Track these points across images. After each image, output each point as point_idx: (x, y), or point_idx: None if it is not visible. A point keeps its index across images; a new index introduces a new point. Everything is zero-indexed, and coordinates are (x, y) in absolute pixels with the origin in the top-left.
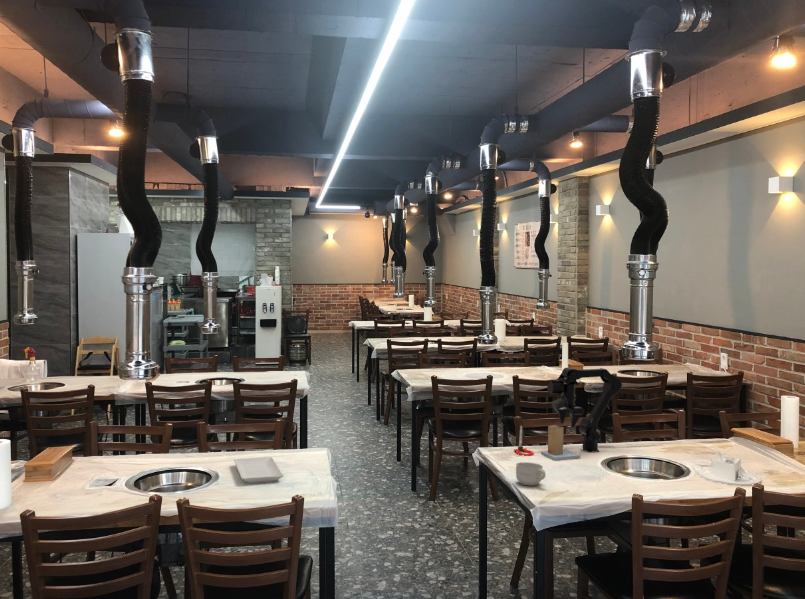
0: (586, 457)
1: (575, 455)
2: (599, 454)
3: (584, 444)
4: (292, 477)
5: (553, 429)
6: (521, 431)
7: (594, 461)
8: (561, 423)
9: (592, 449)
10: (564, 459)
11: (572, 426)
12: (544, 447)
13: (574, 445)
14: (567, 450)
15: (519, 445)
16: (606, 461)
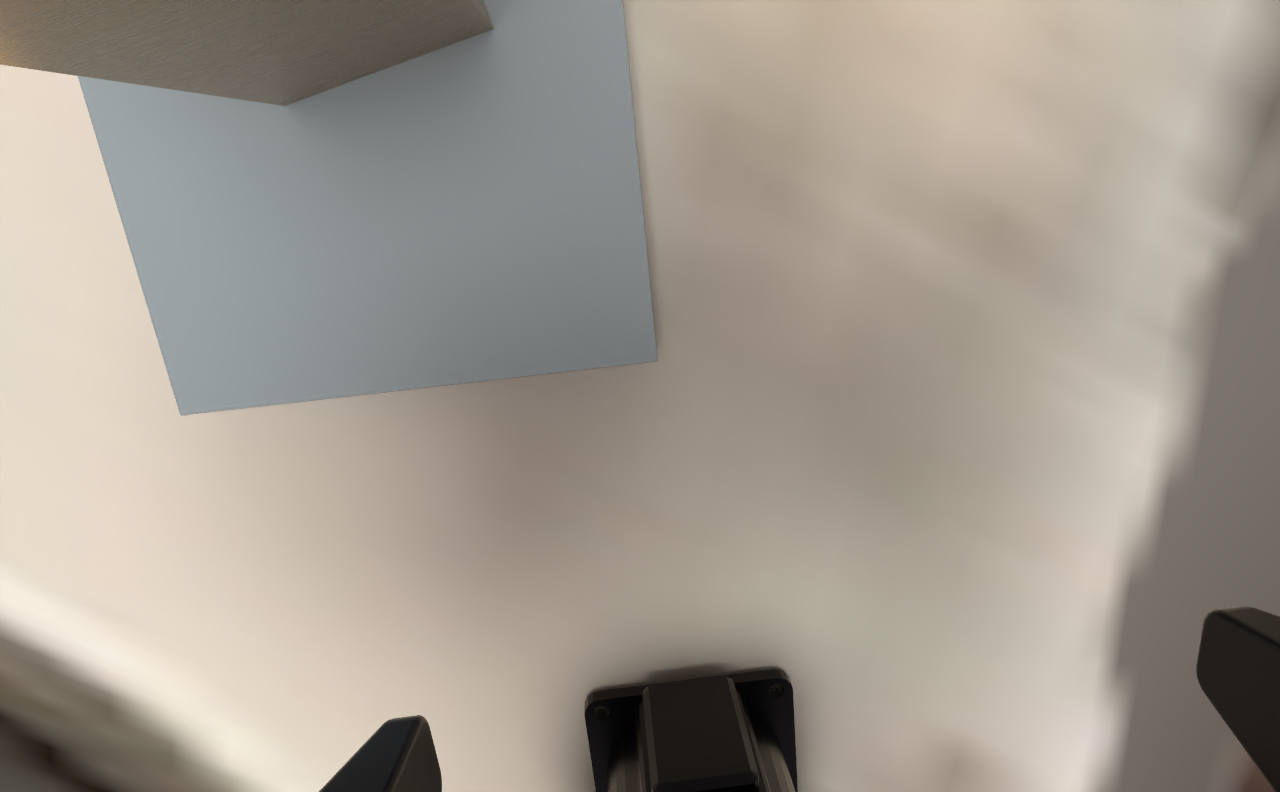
0: (287, 529)
1: (174, 319)
2: (454, 780)
3: (687, 741)
4: None
5: None
6: None
7: (19, 538)
8: (1209, 615)
9: (608, 780)
10: None
11: (372, 756)
12: (1094, 111)
13: (1036, 674)
14: (575, 347)
15: None
16: (30, 705)
